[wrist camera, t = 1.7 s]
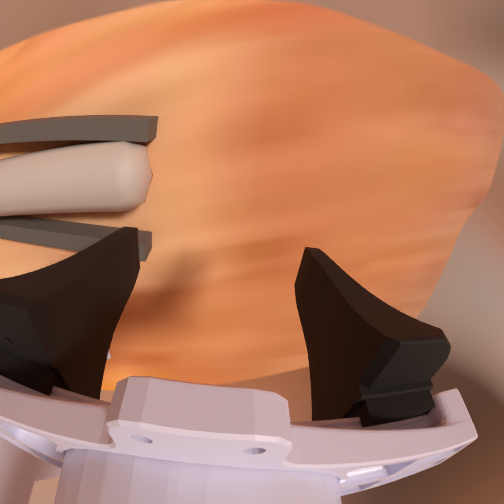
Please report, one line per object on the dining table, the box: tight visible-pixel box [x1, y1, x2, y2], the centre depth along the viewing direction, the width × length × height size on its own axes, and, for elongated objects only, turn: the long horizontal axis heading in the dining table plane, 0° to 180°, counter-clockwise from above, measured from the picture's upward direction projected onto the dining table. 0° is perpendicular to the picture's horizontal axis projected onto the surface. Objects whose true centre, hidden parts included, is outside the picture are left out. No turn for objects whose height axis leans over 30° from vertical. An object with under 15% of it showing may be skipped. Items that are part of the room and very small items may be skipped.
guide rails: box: [0, 115, 158, 262], centre depth 18 cm, size 10×24×2 cm, turn 80°
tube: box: [0, 141, 153, 216], centre depth 17 cm, size 5×5×25 cm
